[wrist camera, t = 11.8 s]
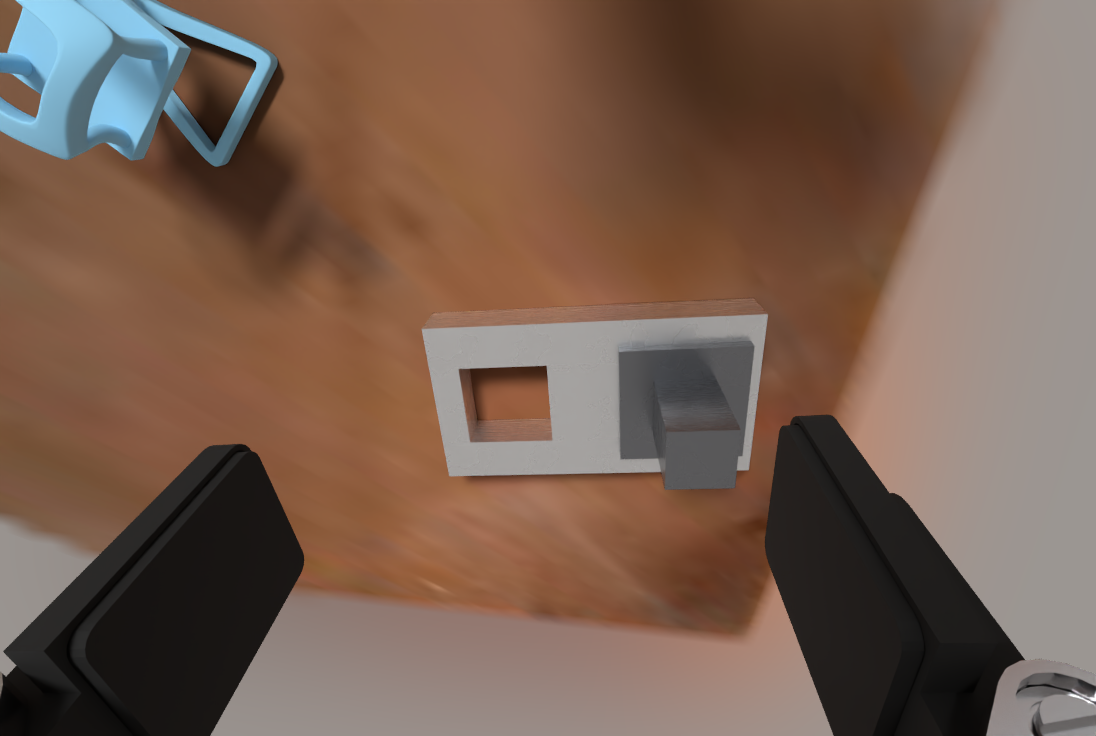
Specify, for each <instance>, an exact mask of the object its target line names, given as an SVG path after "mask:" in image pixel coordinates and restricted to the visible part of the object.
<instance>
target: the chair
mask: <svg viewBox="0 0 1096 736" xmlns="http://www.w3.org/2000/svg"><path fill="white" fill-rule="evenodd" d="M16 1H17V2H18V3H19V4H21V5H22V6H23V9H22V13H21V16H20V19H19V22H18V24H17V27H16V30H15V32H14V35H13V38H12V40H11V43H10V46H9V50H8V53H0V72H2V73H11V74H13V75H14V76H15V77H17V78H18V79H20V80H21V81H22V82H24V83H25V84H27V85H28V86H29V87H31V88H32V89H34V90H35V91H37V92H38V93H40V94H41V95H42V96H41V101H40V106H39V111H38V115H37V117H36V118H34V117H32V116H30V115H28V114H26V113H24V112H22V111H20V110H19V109H17V108H15V107H14V106H12V105H11V104H9V103H8V102H6V101H5V100H4V99H2V98H1V97H0V131H1V132H3V133H5V134H7V135H9V136H10V137H12V138H14V139H16V140H18V141H20V142H23V143H25V144H27V145H29V146H31V147H34V148H36V149H38V150H41V151H43V152H45V153H48V154H50V155H53V156H56V157H58V158H61V159H66V160H68V159H71V158H73V157H75V156H77V155H79V154H81V153H84V152H86V151H88V150H89V149H91V148H92V147H94V146H96V145H98V144H100V143H108V144H109V145H110V146H112V147H113V148H114V149H116V150H117V151H119V152H120V153H121V154H123V155H124V156H126V157H127V158H128V159H130V160H139V159H144V157H145V155H146V152H147V150H148V148H149V145H150V143H151V141H152V138H153V135H154V132H155V129H156V126H157V123H158V120H159V117H160V115H161V113H162V111H163V110H164V111H165V112H166V113H167V115H168V116H169V117H170V118H171V119H172V121H173V122H174V123H175V124H176V126H177V127H178V128H179V129H180V131H181V132H182V133H183V134H184V136H185V137H186V138H187V139H188V140H189V142H190V143H191V144H192V145H193V146H194V148H195V149H196V150H197V151H198V152H199V153H200V154H201V155H202V156H203V157H204V158H205V159H206V161H208V162H209V163H210V164H211V165H213V166H215V167H218V166H222V165H225V164H227V163H228V162H229V160H230V158H231V156H232V154H233V152H234V150H235V148H236V146H237V144H238V142H239V141H240V139H241V137H242V135H243V133H244V131H245V129H246V127H247V125H248V123H249V121H250V119H251V117H252V115H253V113H254V111H255V109H256V107H257V105H258V103H259V101H260V99H261V97H262V95H263V93H264V91H265V89H266V87H267V85H268V83H269V81H270V79H271V77H272V75H273V73H274V71H275V69H276V68H277V64H278V61H277V58H276V57H275V55H274V54H272V53H271V52H270V51H268V50H267V49H265V48H263V47H261V46H259V45H257V44H255V43H253V42H251V41H249V40H246V39H244V38H242V37H240V36H237V35H235V34H233V33H230V32H228V31H225V30H223V29H221V28H218V27H216V26H213V25H211V24H209V23H206V22H204V21H201V20H199V19H196V18H194V17H192V16H189V15H187V14H185V13H182V12H180V11H178V10H175V9H173V8H171V7H169V6H167V5H165V4H163V3H161V2H159V1H157V0H16ZM162 25H163V26H166V27H168V28H171V29H173V30H176V31H178V32H181V33H184V34H186V35H189V36H192V37H194V38H197V39H200V40H202V41H205V42H208V43H211V44H214V45H216V46H219V47H222V48H225V49H227V50H230V51H233V52H236V53H238V54H241V55H244V56H246V57H249V58H252V59H253V60H254V61H255V62H257V64H256V69H255V71H254V73H253V75H252V77H251V79H250V81H249V83H248V85H247V87H246V89H245V91H244V93H243V95H242V96H241V98H240V100H239V102H238V104H237V106H236V108H235V110H234V112H233V114H232V116H231V118H230V120H229V122H228V124H227V126H226V128H225V130H224V132H223V134H222V136H221V138H220V139H219V141H218V143H217V145H216V147H215V145H214V144H213V143H212V142H211V140H210V139H209V138H208V136H207V135H206V134H205V132H204V131H203V130H202V128H201V127H200V125H199V124H198V123H197V121H196V120H195V119H194V117H193V116H192V115H191V113H190V112H189V111H188V109H187V108H186V107H185V105H184V104H183V102H182V101H181V100H180V98H179V97H178V96H177V94H176V93H175V92H174V90H173V87H174V85H175V83H176V82H177V80H178V78H179V76H180V74H181V72H182V70H183V68H184V65H185V63H186V61H187V58H188V56H189V54H190V51H191V48H189V47H188V46H187V45H186V44H184V43H183V42H182V41H181V40H179V39H178V38H177V37H176V36H174V35H173V34H172V33H171V32H170V31H168V30H167V29H166V28H164V27H163V26H162Z"/></svg>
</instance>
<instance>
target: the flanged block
mask: <svg viewBox="0 0 1096 736" xmlns="http://www.w3.org/2000/svg"><path fill="white" fill-rule="evenodd" d="M754 348H755V346H754V344H753V343H752V342H751V341H737V342H713V343H690V344H667V345H643V346H620V347H618V364H619V431H620V459H657V458H658V460H659V465H660V470H661V474H662V479H663V484H664V488H665V490H672V489H720V488H735V483H736V473H737V464H738V456H743V447H744V438H745V429H746V420H747V411H748V402H749V393H750V384H751V375H752V366H753V357H754Z"/></svg>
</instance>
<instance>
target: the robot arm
mask: <svg viewBox="0 0 1096 736" xmlns="http://www.w3.org/2000/svg"><path fill="white" fill-rule="evenodd" d="M765 550H766V555H767V559H768V563H769V565H770V568H771V571H772V573H773V576H774V579H775V581H776V584H777V586H778V589H779V592H780V595H781V597H782V600H783V602H784V605H785V608H786V610H787V613H788V615H789V618H790V621H791V624H792V626H793V629H794V632H795V634H796V637H797V639H798V642H799V645H800V647H801V650H802V653H803V655H804V658H805V661H806V663H807V666H808V669H809V671H810V674H811V677H812V679H813V682H814V685H815V687H816V690H817V693H818V695H819V698H820V700H821V703H822V706H823V708H824V711H825V714H826V716H827V719H828V722H829V724H830V727H831V730H832V732H833V735H834V736H1096V675H1095V674H1093V673H1091V672H1088V671H1085V670H1082V669H1080V668H1077V667H1074V666H1072V665H1069V664H1067V663H1062V662H1056V661H1050V660H1044V659H1034V660H1025V659H1024V658H1023V656H1022V655H1021V654H1020V652H1019V651H1018V650H1017V649H1016V647H1015V646H1014V644H1013V643H1012V642H1011V641H1010V639H1009V638H1008V637H1007V635H1006V634H1005V632H1004V631H1003V630H1002V628H1001V627H1000V626H999V624H998V623H997V622H996V620H995V619H994V618H993V616H992V615H991V614H990V612H989V611H988V610H987V608H986V607H985V606H984V604H983V603H982V602H981V600H980V599H979V598H978V596H977V595H976V594H975V592H974V591H973V590H972V588H971V587H970V586H969V584H968V583H967V582H966V580H965V579H964V578H963V576H962V575H961V574H960V573H959V571H958V570H957V569H956V567H955V566H954V564H953V563H952V562H951V560H950V559H949V558H948V556H947V555H946V554H945V552H944V551H943V550H942V548H941V547H940V546H939V544H938V543H937V542H936V540H935V539H934V538H933V536H932V535H931V534H930V532H929V531H928V530H927V528H926V527H925V526H924V524H923V523H922V522H921V521H920V519H919V518H918V516H917V515H916V514H915V512H914V511H913V510H912V508H911V507H910V506H909V505H908V503H906V501H905V500H904V499H903V498H902V497H901V496H899V495H897V494H895V493H889V492H888V491H887V489H886V488H885V486H884V485H883V484H882V482H881V481H880V479H879V478H878V477H877V475H876V474H875V472H874V471H873V470H872V468H871V467H870V466H869V464H868V463H867V461H866V460H865V459H864V457H863V456H862V455H861V453H860V452H859V450H858V449H857V448H856V446H855V445H854V443H853V442H852V441H851V439H850V438H849V437H848V435H847V434H846V432H845V431H844V430H843V428H842V427H841V426H840V424H839V423H838V421H837V420H836V419H835V418H834V417H833V416H831V415H814V416H795V417H794V418H793V419H792V421H791V423H790V425H788V426H782V427H781V429H780V432H779V438H778V446H777V453H776V461H775V468H774V476H773V483H772V491H771V498H770V506H769V513H768V521H767V528H766V536H765ZM303 565H304V554H303V551H302V549H301V547H300V545H299V542H298V540H297V538H296V536H295V534H294V531H293V529H292V527H291V525H290V523H289V521H288V518H287V516H286V514H285V512H284V510H283V507H282V505H281V503H280V501H279V499H278V497H277V494H276V492H275V490H274V488H273V486H272V483H271V481H270V479H269V477H268V475H267V473H266V470H265V468H264V466H263V464H262V462H261V460H260V457H259V456H258V454H256V453H255V452H252V451H251V450H250V448H249V447H247V446H246V445H243V444H232V445H213V446H209V447H207V448H206V449H205V450H203V451H202V452H201V453H200V454H199V455H198V456H197V457H196V458H195V459H194V460H193V461H192V462H191V463H190V464H189V465H188V466H187V467H186V468H185V469H184V470H183V471H182V472H181V473H180V474H179V475H178V476H177V477H176V478H175V479H174V480H173V482H172V483H171V484H170V485H169V486H168V487H167V488H166V489H165V490H164V491H163V492H162V493H161V494H160V495H159V496H158V497H157V498H156V499H155V500H154V501H153V502H152V503H151V504H150V505H149V506H148V507H147V508H146V509H145V510H144V511H143V512H142V513H141V514H140V515H139V516H138V517H137V518H136V519H135V520H134V521H133V522H132V523H131V524H130V525H129V526H128V527H127V528H126V529H125V530H124V531H123V532H122V533H121V534H120V535H119V536H118V537H117V538H116V539H115V540H114V541H113V542H112V543H111V544H110V545H109V546H108V547H107V548H106V549H105V550H104V551H103V552H102V553H101V554H100V555H99V556H98V557H97V558H96V559H95V560H94V561H93V562H92V563H91V564H90V565H89V566H88V567H87V568H86V569H85V570H84V571H83V572H82V573H81V574H80V575H79V576H78V577H77V578H76V579H75V580H74V581H73V582H72V583H71V584H70V585H69V586H68V587H67V588H66V589H65V590H64V591H63V592H62V593H61V594H60V595H59V596H58V597H57V598H56V599H55V600H54V601H53V602H52V603H51V604H50V605H49V606H48V607H47V608H46V609H45V610H44V611H43V612H42V613H41V614H40V615H39V616H38V617H37V618H36V619H35V620H34V621H33V622H32V623H31V624H30V625H29V626H28V627H27V628H26V629H25V630H24V631H23V632H22V633H21V634H20V635H19V636H18V637H17V638H16V639H15V640H14V641H13V642H12V643H11V644H10V645H9V646H8V647H7V648H6V649H5V650H4V653H5V654H6V655H7V656H8V657H9V658H10V659H11V660H12V661H13V662H14V663H15V664H16V665H17V666H16V667H15V668H14V669H13V670H12V671H11V672H10V673H9V674H8V675H7V677H5V676H4V675H3V674H2V673H1V672H0V736H210V735H211V733H212V731H213V730H214V728H215V726H216V724H217V722H218V721H219V719H220V717H221V715H222V714H223V712H224V710H225V708H226V706H227V705H228V703H229V701H230V699H231V697H232V696H233V694H234V692H235V690H236V689H237V687H238V685H239V683H240V681H241V680H242V678H243V676H244V674H245V672H246V671H247V669H248V667H249V665H250V663H251V662H252V660H253V658H254V656H255V654H256V653H257V651H258V649H259V647H260V646H261V644H262V642H263V640H264V638H265V637H266V635H267V633H268V631H269V630H270V628H271V626H272V624H273V622H274V621H275V619H276V617H277V615H278V613H279V612H280V610H281V608H282V606H283V604H284V603H285V601H286V599H287V597H288V596H289V594H290V592H291V590H292V588H293V587H294V585H295V583H296V581H297V579H298V578H299V576H300V574H301V572H302V569H303Z"/></svg>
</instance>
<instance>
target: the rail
mask: <svg viewBox="0 0 1096 736" xmlns="http://www.w3.org/2000/svg"><path fill="white" fill-rule="evenodd" d="M767 318H768V314H767V313H766V311H765V310H764V309H763V308H762V307H761V306H760V304H759V303H758V302H757V301H756V300H755V299H754V298H747V299H725V300H703V301H681V302H659V303H637V304H614V305H592V306H570V307H548V308H526V309H504V310H482V311H460V312H438V313H433V314H432V315H431V317H430V318H429V319H428V321H427V322H426V324H425V325H424V327H423V328H422V333H423V338H424V344H425V349H426V354H427V360H428V365H429V370H430V376H431V381H432V386H433V392H434V397H435V402H436V408H437V413H438V418H439V423H440V429H441V434H442V439H443V445H444V450H445V455H446V461H447V466H448V471H449V476H485V475H535V474H585V473H635V472H661V470H660V465H659V460H658V458H657V459H620V431H619V364H618V347H620V346H643V345H667V344H690V343H713V342H737V341H751V342H752V343H753V344H754V346H755V348H754V357H753V366H752V375H751V384H750V393H749V402H748V411H747V420H746V429H745V438H744V447H743V456H738V464H737V470H749V464H750V456H751V448H752V439H753V431H754V423H755V415H756V407H757V399H758V391H759V383H760V375H761V367H762V359H763V351H764V342H765V334H766V326H767ZM524 366H547V376H548V388H549V401H550V414H551V418H543V419H508V420H477V414H476V408H475V401H474V394H473V388H472V381H471V374H470V368H497V367H524Z"/></svg>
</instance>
